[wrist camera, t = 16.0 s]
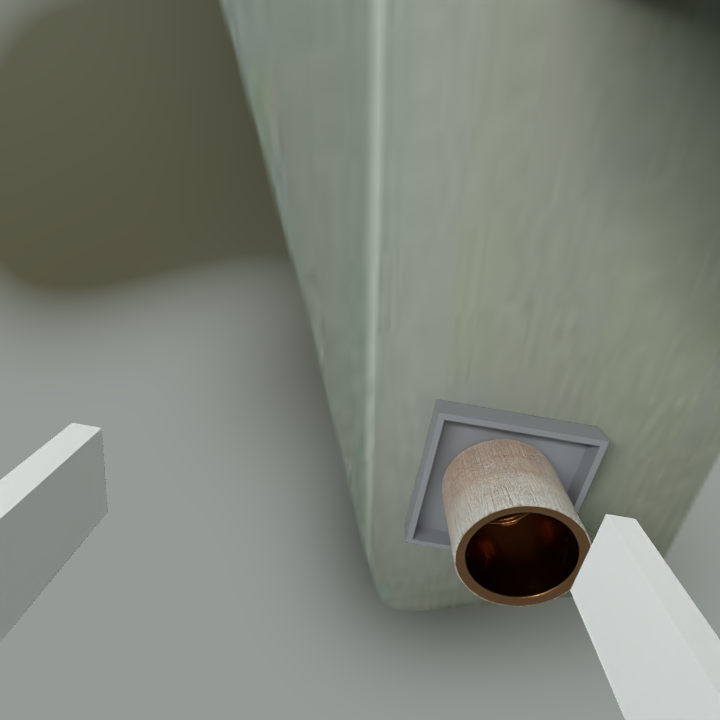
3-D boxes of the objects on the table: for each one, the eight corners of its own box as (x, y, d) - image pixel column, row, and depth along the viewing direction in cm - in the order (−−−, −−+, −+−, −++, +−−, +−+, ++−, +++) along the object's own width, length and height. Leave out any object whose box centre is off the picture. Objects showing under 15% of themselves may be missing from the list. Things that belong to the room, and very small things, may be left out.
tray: (436, 399, 43) (439, 412, 40) (597, 427, 43) (609, 441, 40) (404, 525, 49) (405, 542, 46) (546, 549, 49) (554, 568, 46)
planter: (554, 521, 46) (592, 604, 38) (446, 530, 48) (458, 612, 39) (553, 428, 42) (596, 497, 34) (435, 441, 44) (446, 510, 35)
